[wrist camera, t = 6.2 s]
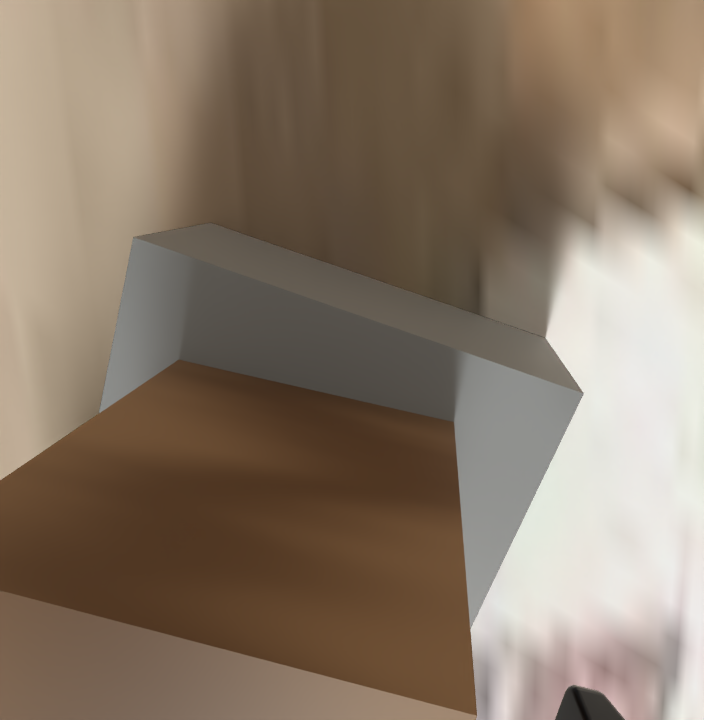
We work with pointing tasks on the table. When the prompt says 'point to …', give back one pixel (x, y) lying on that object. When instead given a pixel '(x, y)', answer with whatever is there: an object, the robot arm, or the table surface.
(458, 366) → the grey slab
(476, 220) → the table surface
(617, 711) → the robot arm
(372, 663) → the walnut block
